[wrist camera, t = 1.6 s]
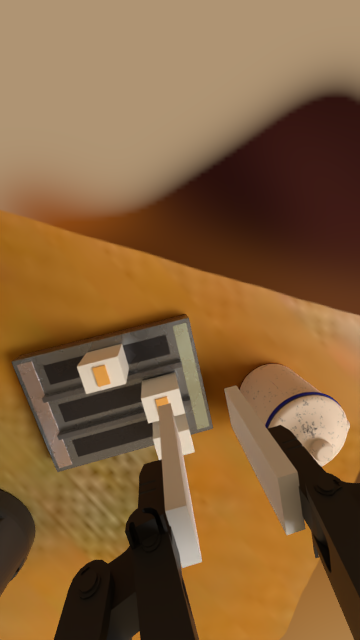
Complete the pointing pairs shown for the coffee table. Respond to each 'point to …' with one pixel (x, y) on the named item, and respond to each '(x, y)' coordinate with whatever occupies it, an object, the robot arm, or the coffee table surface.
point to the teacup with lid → (297, 409)
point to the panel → (110, 392)
